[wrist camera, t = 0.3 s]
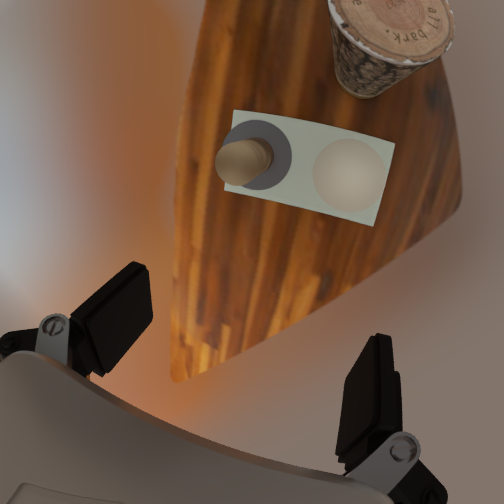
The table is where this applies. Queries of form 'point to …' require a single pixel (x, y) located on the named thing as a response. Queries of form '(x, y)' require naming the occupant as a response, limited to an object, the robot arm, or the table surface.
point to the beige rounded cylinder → (243, 160)
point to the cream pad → (349, 175)
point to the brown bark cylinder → (386, 41)
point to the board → (298, 160)
